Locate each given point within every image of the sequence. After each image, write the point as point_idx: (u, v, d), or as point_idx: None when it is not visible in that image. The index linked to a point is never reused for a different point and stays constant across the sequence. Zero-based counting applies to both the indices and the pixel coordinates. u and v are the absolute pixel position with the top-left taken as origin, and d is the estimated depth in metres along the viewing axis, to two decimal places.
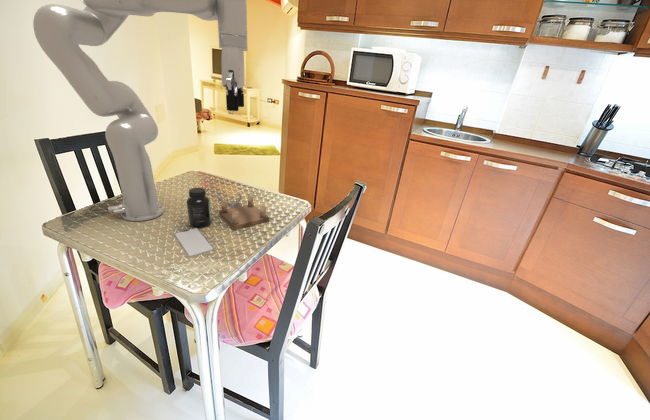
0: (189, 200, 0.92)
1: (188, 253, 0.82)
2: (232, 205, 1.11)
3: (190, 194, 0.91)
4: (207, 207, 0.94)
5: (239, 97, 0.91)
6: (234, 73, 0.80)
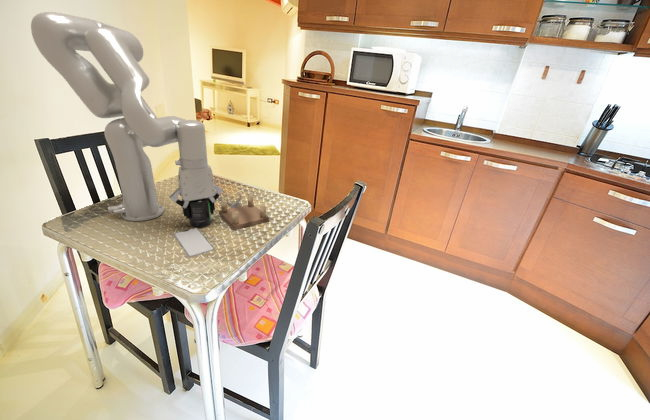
0: None
1: (188, 253, 0.82)
2: (232, 205, 1.11)
3: None
4: (207, 207, 0.94)
5: None
6: None
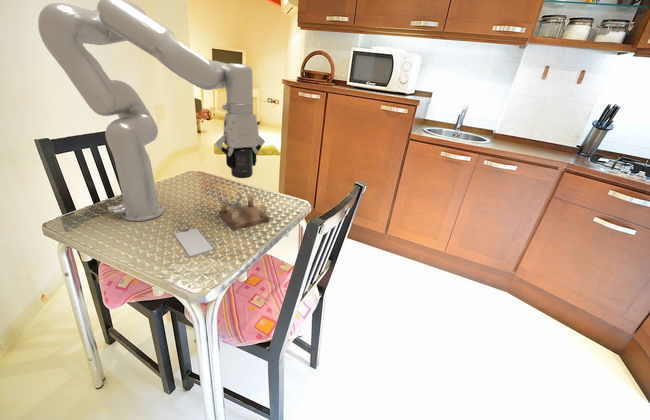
0: None
1: (188, 253, 0.82)
2: (232, 205, 1.11)
3: None
4: (250, 156, 0.93)
5: None
6: None
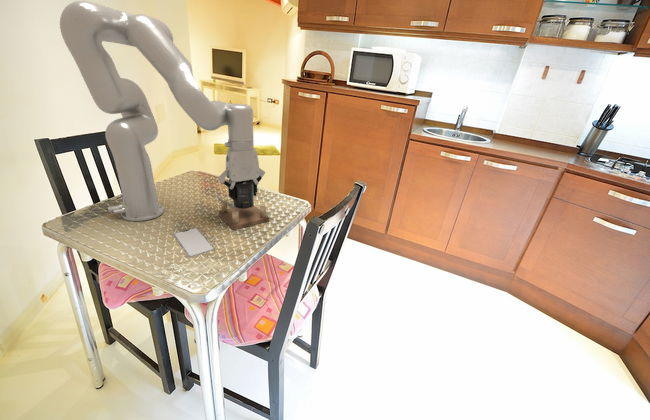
0: None
1: (188, 253, 0.82)
2: (232, 205, 1.11)
3: None
4: (251, 188, 0.98)
5: None
6: None
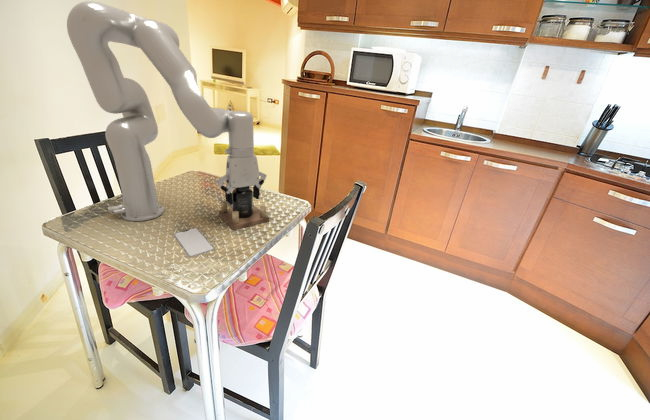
0: (235, 191, 0.98)
1: (188, 253, 0.82)
2: (232, 205, 1.11)
3: None
4: (251, 198, 1.00)
5: None
6: None
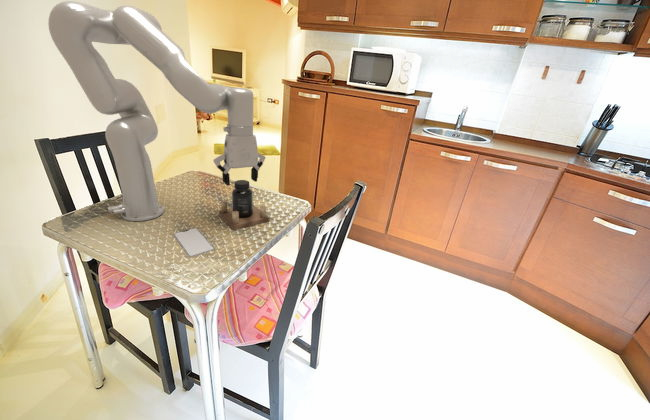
0: (235, 192, 0.97)
1: (188, 253, 0.82)
2: (232, 205, 1.11)
3: (236, 186, 0.97)
4: (251, 198, 1.00)
5: None
6: None
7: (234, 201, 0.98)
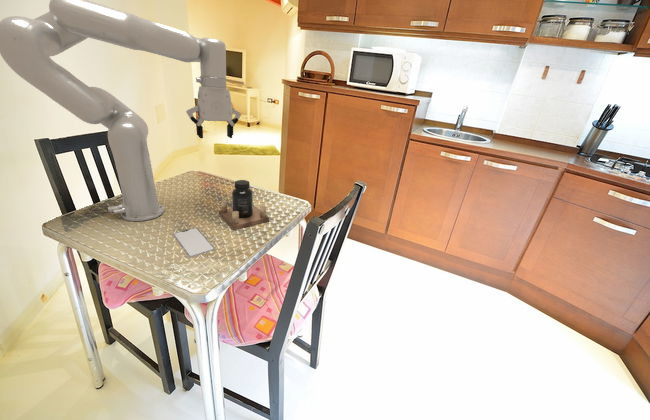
0: (235, 191, 0.97)
1: (189, 253, 0.82)
2: (232, 205, 1.11)
3: (236, 186, 0.97)
4: (251, 198, 1.00)
5: None
6: None
7: (234, 201, 0.98)
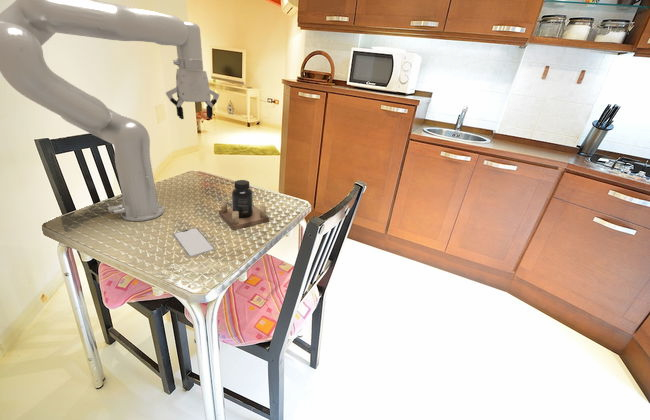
0: (235, 192, 0.97)
1: (189, 253, 0.82)
2: None
3: (236, 186, 0.97)
4: (251, 198, 1.00)
5: None
6: None
7: (234, 201, 0.98)
